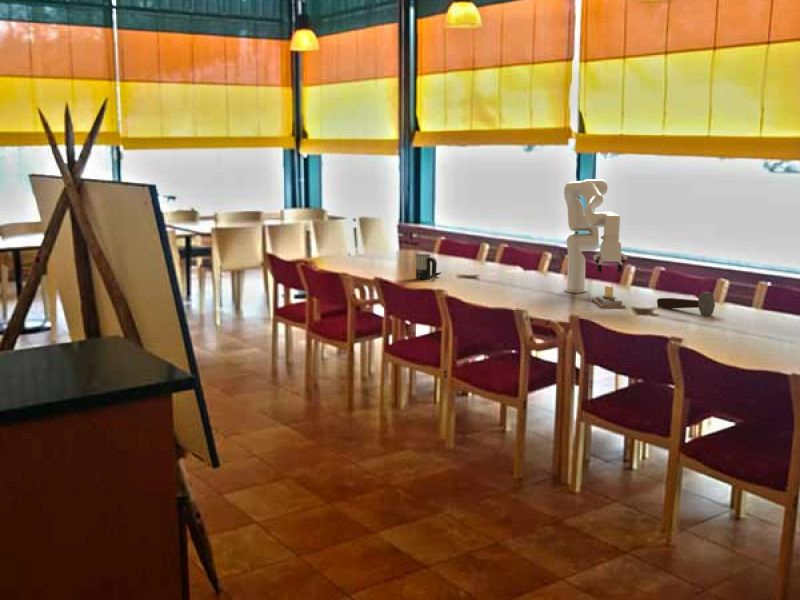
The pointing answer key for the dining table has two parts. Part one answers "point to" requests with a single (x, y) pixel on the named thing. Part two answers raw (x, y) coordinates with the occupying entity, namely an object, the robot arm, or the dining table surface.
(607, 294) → the pin
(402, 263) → the dining table surface
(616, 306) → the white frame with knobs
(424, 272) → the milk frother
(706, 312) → the hammer
